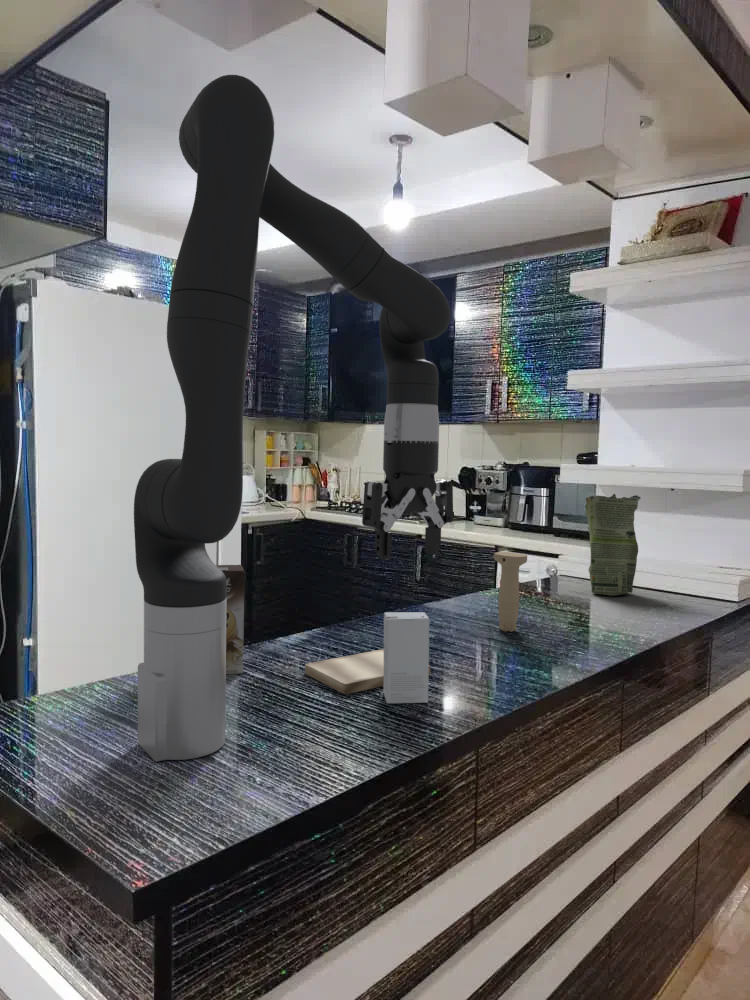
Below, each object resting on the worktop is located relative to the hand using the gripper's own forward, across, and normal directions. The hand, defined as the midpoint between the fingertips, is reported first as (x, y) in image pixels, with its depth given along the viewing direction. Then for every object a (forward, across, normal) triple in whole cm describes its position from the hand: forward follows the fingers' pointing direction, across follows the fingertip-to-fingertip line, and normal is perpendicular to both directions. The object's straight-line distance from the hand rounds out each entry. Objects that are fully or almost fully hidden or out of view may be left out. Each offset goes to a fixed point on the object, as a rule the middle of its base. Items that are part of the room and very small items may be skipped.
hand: (408, 556), depth 98 cm
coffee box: (+20, +17, -26) cm, 37 cm away
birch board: (+20, -2, -11) cm, 23 cm away
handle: (+21, -41, -18) cm, 49 cm away
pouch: (+21, -91, -30) cm, 98 cm away
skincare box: (+20, 0, 0) cm, 21 cm away
